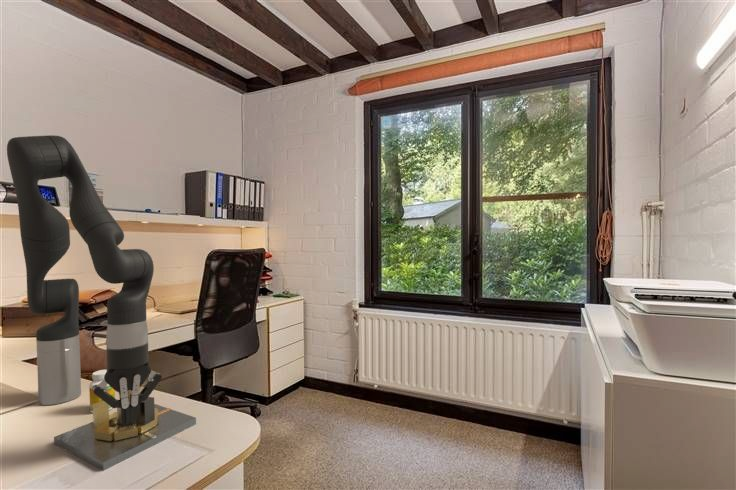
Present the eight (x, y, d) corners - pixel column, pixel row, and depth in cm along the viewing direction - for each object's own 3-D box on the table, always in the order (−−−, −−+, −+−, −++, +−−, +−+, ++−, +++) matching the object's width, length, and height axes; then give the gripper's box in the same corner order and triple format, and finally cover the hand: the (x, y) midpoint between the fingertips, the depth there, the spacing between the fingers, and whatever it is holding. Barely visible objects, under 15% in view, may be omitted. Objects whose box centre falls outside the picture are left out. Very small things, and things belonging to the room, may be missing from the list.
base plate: (54, 443, 82) (52, 411, 81) (146, 406, 99) (145, 380, 99) (103, 470, 72) (102, 434, 72) (196, 423, 89) (195, 394, 89)
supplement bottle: (102, 414, 95) (101, 376, 95) (84, 412, 96) (83, 375, 96) (120, 405, 100) (119, 368, 100) (103, 403, 101) (102, 367, 101)
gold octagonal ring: (81, 436, 81) (80, 406, 81) (130, 411, 93) (129, 384, 93) (126, 443, 78) (125, 412, 78) (171, 416, 90) (170, 389, 89)
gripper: (91, 352, 73) (93, 441, 74) (166, 340, 82) (167, 419, 82) (87, 345, 79) (89, 427, 79) (158, 334, 88) (159, 408, 88)
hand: (129, 423), depth 81 cm, fingers closed
